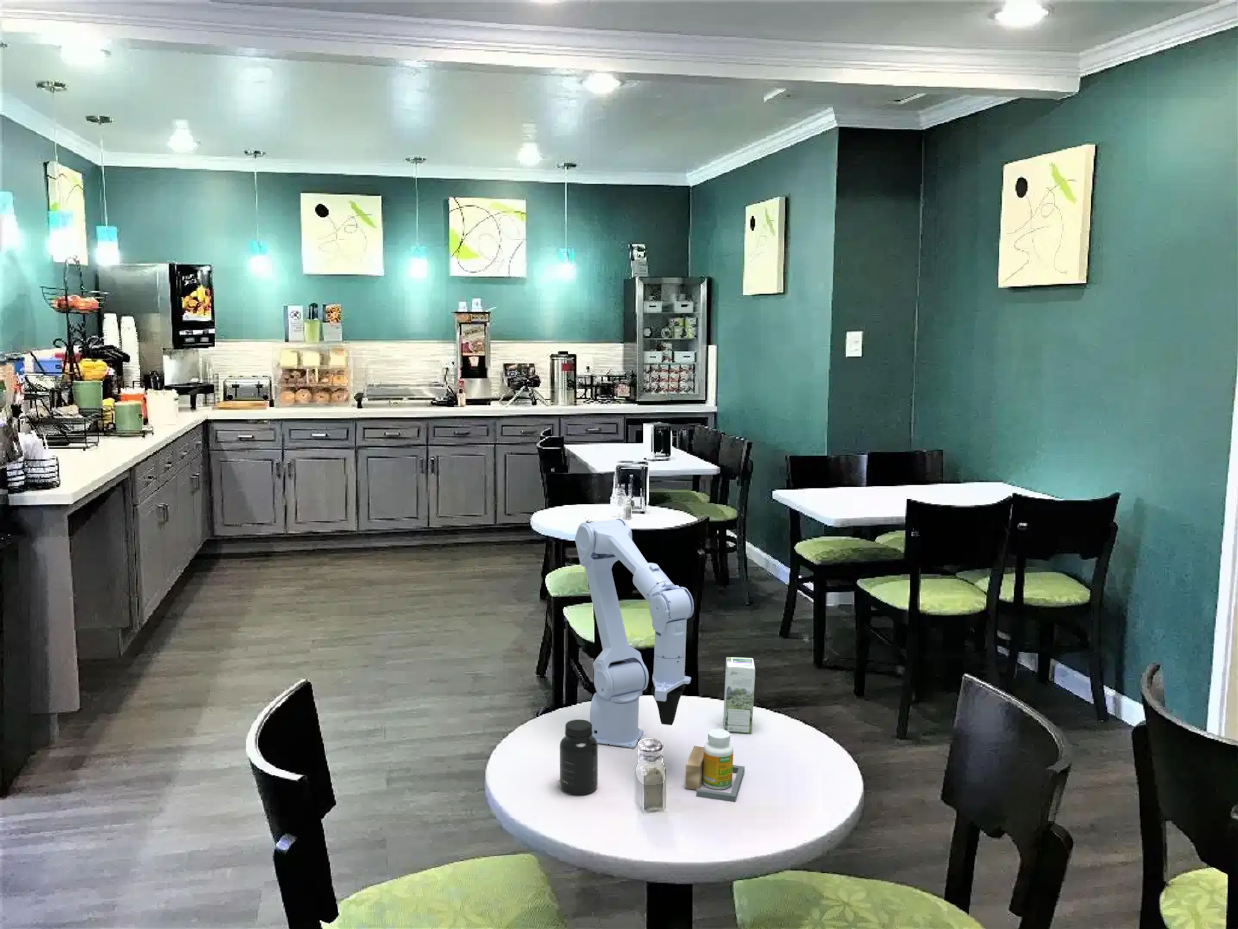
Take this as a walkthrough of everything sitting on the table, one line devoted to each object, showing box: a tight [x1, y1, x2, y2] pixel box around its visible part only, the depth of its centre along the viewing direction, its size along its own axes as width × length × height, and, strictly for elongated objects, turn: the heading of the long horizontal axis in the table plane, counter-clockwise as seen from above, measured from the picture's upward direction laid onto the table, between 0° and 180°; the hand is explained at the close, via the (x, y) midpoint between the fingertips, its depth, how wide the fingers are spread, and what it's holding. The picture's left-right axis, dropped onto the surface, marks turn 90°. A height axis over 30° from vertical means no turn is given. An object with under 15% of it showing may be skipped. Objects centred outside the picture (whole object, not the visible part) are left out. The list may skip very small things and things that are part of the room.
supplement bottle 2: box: [702, 728, 734, 791], centre depth 183 cm, size 5×5×10 cm
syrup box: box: [722, 656, 756, 734], centre depth 207 cm, size 6×6×14 cm
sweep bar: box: [684, 745, 704, 791], centre depth 185 cm, size 2×8×4 cm, turn 165°
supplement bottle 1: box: [559, 719, 599, 796], centre depth 180 cm, size 7×7×12 cm
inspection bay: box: [695, 764, 746, 803], centre depth 184 cm, size 7×12×1 cm, turn 165°
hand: (667, 723), depth 187 cm, fingers closed
